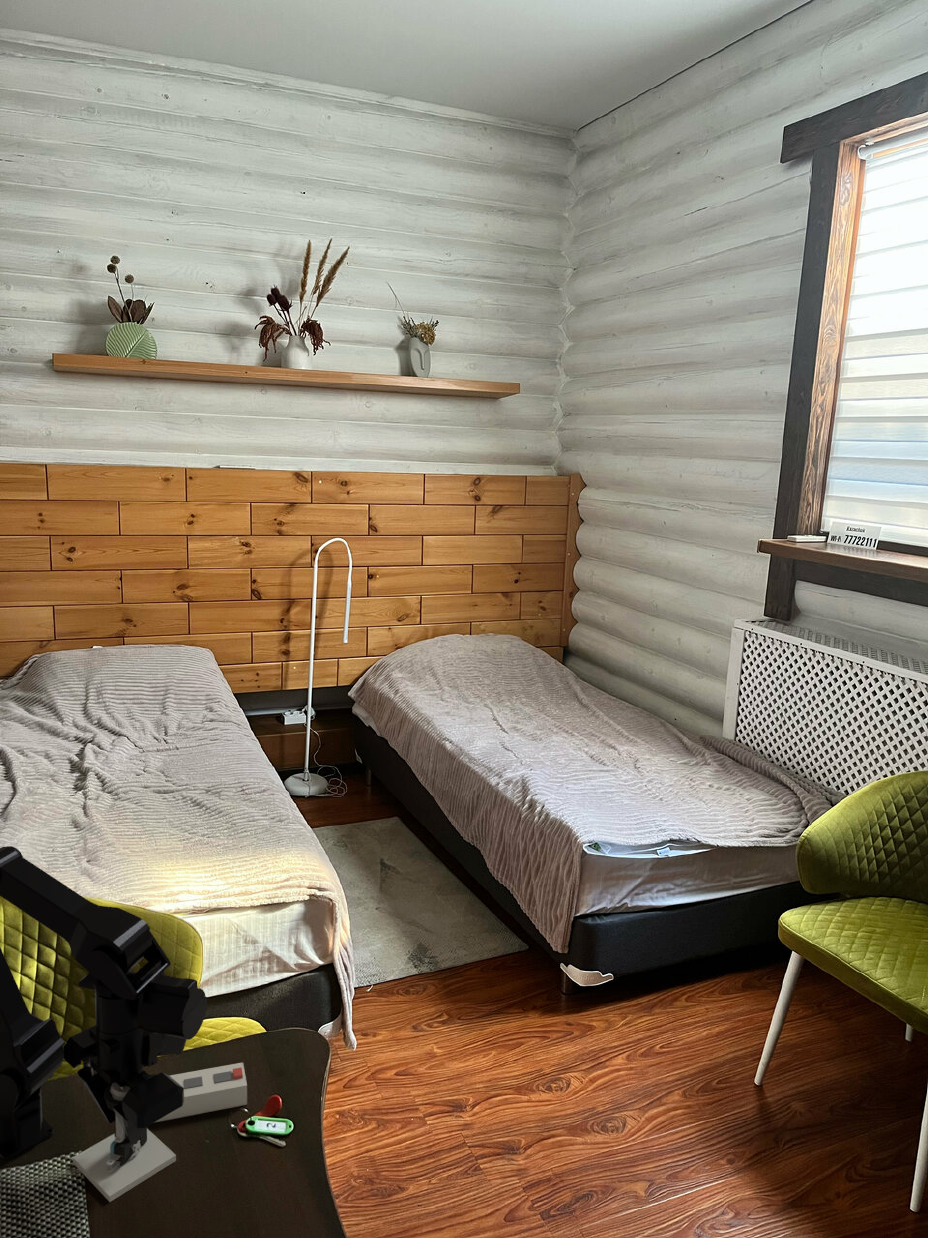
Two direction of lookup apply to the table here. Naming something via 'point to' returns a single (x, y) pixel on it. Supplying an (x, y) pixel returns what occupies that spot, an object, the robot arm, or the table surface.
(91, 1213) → the table surface
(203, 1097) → the power strip
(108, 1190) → the rubber mat
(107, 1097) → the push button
